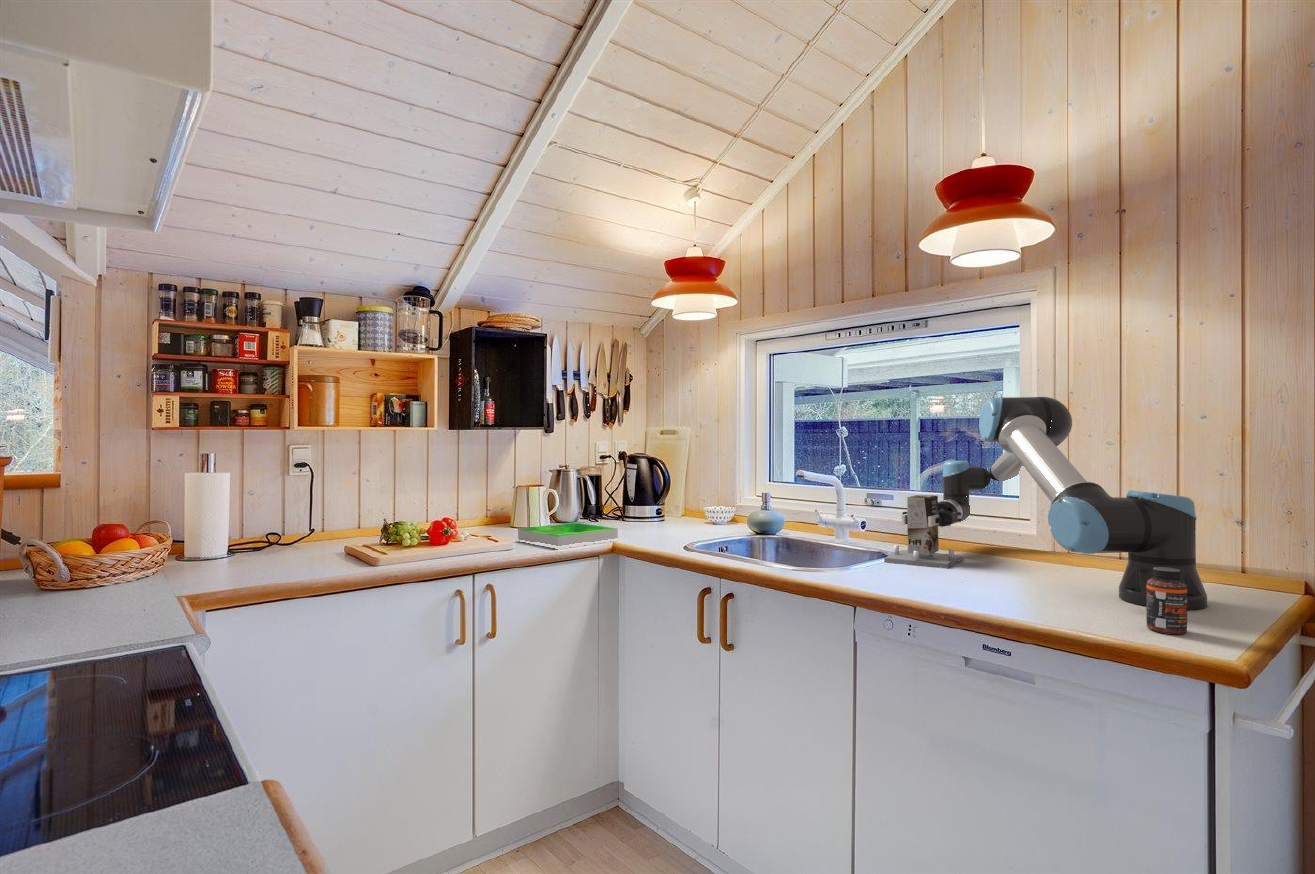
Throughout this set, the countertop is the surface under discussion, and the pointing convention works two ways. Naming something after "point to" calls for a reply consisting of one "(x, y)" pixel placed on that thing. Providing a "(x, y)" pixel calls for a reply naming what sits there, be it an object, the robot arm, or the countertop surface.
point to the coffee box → (922, 524)
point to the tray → (567, 534)
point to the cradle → (923, 558)
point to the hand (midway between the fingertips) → (916, 520)
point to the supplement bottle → (1167, 602)
